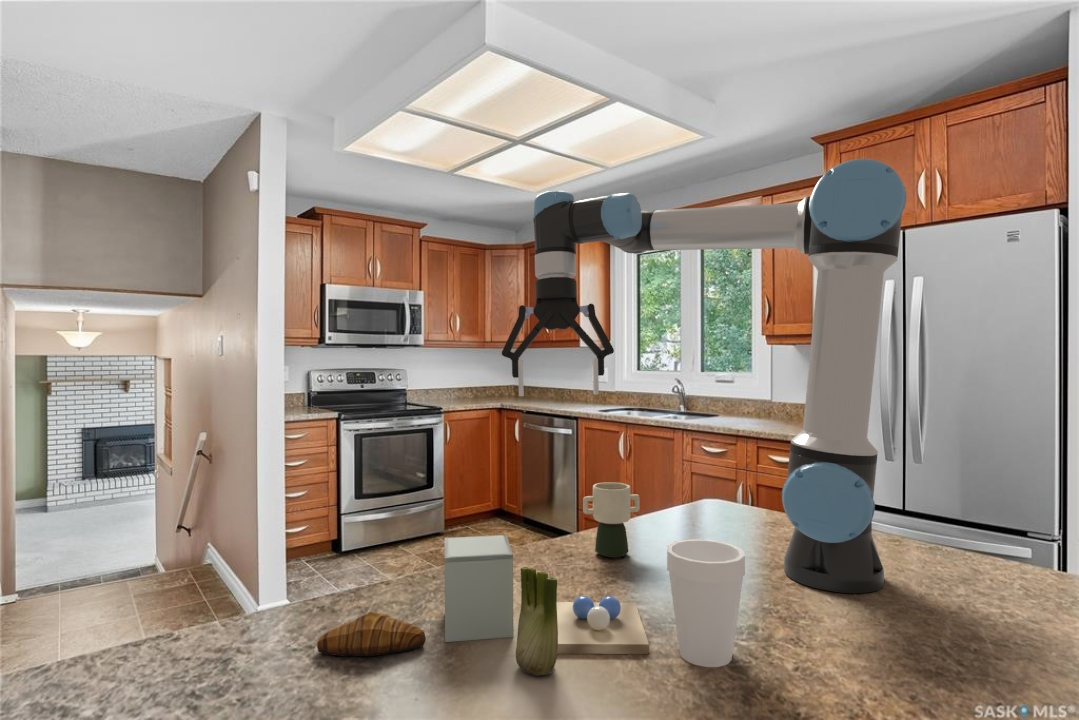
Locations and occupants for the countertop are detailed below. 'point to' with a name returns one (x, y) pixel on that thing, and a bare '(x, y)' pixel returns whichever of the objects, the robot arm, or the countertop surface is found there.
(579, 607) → the blue marble
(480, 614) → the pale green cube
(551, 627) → the fennel bulb
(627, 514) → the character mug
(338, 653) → the croissant
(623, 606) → the board
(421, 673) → the countertop surface
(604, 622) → the marble white
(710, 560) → the foam cup
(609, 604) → the blue marble
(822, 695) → the countertop surface
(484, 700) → the countertop surface
